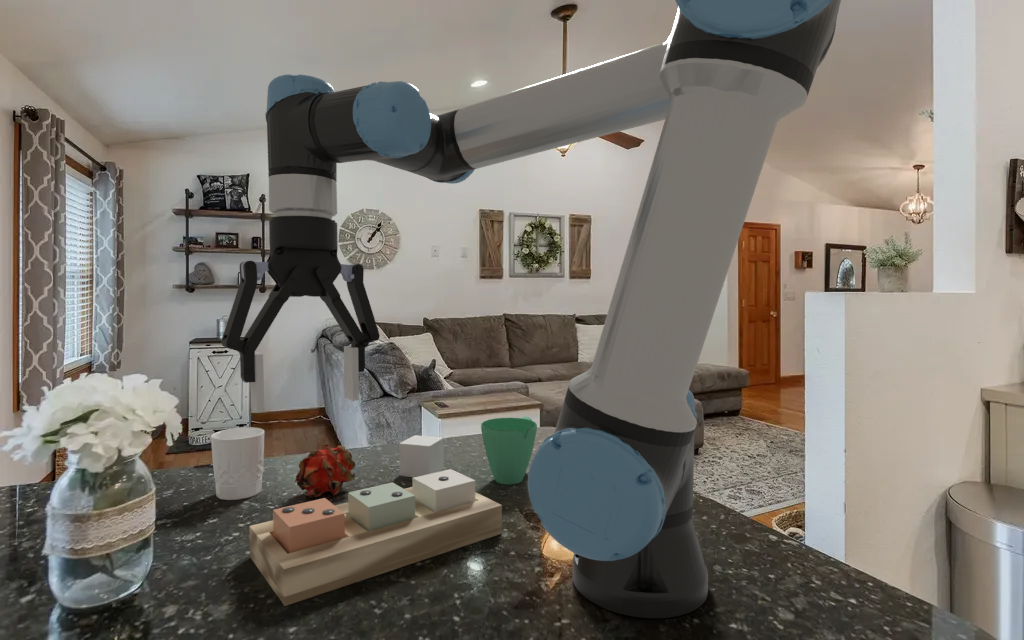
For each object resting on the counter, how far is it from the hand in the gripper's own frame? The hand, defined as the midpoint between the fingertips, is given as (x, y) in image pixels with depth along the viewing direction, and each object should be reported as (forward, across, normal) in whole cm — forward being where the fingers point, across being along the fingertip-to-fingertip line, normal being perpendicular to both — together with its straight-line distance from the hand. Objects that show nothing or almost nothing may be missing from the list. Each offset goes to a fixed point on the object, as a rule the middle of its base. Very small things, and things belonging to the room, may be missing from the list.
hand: (306, 404), depth 68 cm
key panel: (+20, -9, 0) cm, 22 cm away
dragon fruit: (+20, -10, -23) cm, 32 cm away
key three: (+17, 0, 0) cm, 17 cm away
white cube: (+20, -28, -23) cm, 42 cm away
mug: (+20, -40, -11) cm, 46 cm away
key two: (+17, -9, 0) cm, 19 cm away
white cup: (+20, +1, -32) cm, 38 cm away
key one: (+17, -19, 0) cm, 25 cm away
